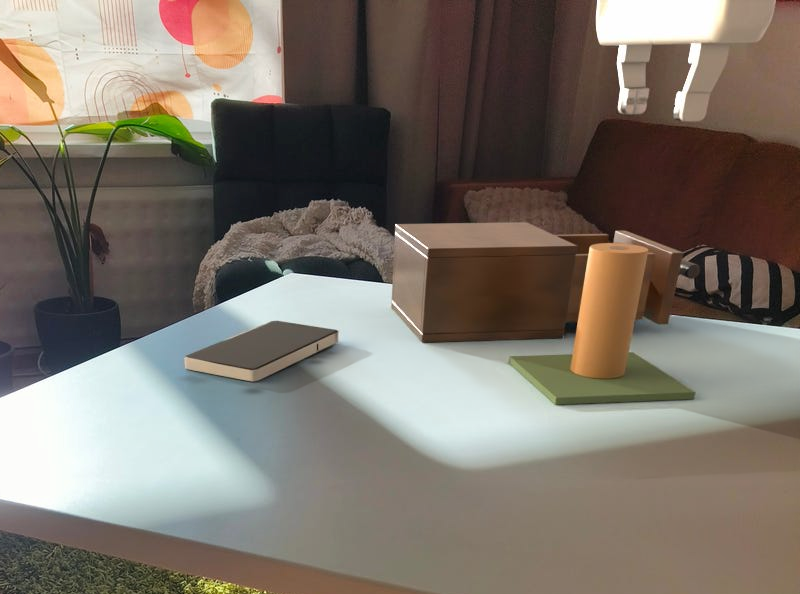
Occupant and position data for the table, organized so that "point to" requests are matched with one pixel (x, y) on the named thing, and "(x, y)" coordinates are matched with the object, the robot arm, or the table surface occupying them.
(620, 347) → the paper roll
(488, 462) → the table surface
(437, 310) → the cabinet
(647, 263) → the drawer
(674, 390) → the mat
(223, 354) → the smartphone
